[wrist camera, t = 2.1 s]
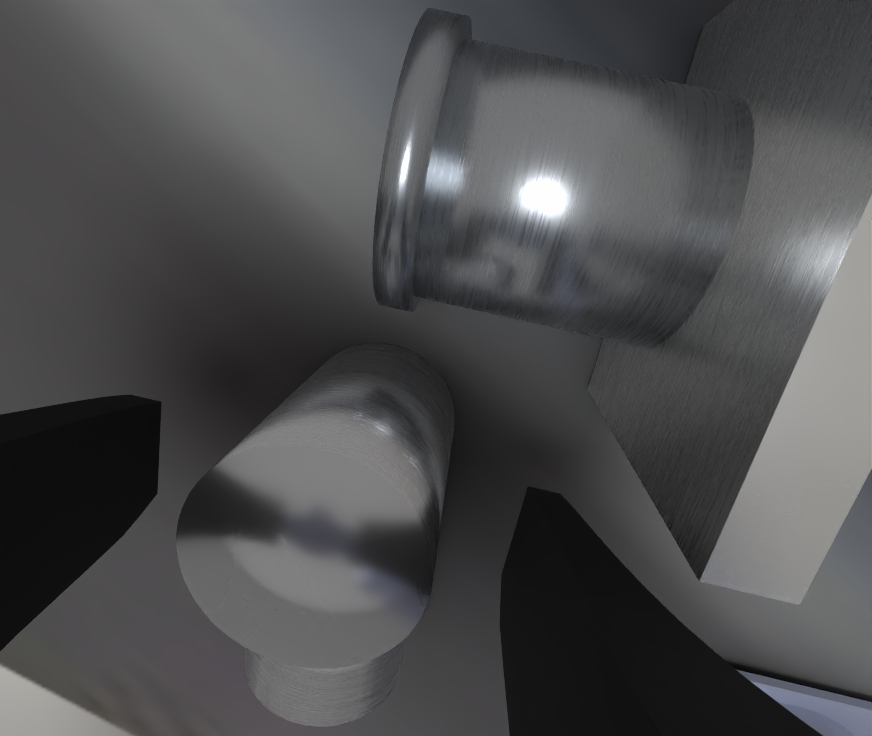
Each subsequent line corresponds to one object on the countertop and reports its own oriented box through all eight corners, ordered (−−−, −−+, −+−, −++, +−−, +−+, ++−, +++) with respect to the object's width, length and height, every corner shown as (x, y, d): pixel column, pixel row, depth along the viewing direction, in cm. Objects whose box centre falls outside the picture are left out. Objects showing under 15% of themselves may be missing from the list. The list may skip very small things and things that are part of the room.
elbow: (316, 327, 13) (183, 417, 7) (470, 362, 13) (458, 481, 7) (280, 581, 15) (159, 799, 10) (410, 612, 15) (365, 851, 10)
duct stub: (759, 40, 10) (1268, -285, 4) (633, 398, 13) (799, 605, 6) (462, -21, 11) (421, -439, 4) (393, 344, 13) (293, 485, 6)
